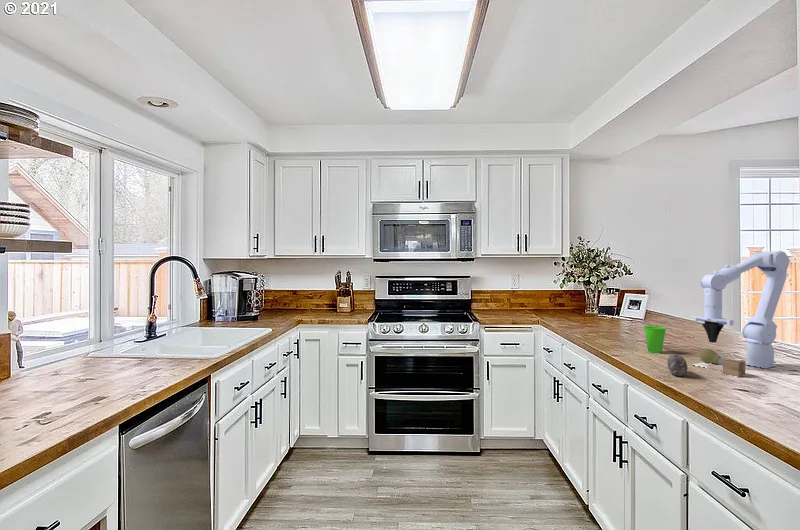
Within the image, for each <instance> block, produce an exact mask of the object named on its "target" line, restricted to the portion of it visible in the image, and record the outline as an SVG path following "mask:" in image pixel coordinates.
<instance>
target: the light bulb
mask: <svg viewBox="0 0 800 530" xmlns="http://www.w3.org/2000/svg"><path fill="white" fill-rule="evenodd" d="M698 355H699V357H698V358H699V359H700V360H701V361H702V362H705V363H714V364H719V365H723V360H727V359H725V358H723V357H722V356H720V355H719V354H718V353H716V352H715V350H714V349H711V348H703V349H701V350H700V352H699V354H698Z"/></svg>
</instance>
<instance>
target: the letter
mask: <svg viewBox="0 0 800 530" xmlns="http://www.w3.org/2000/svg"><path fill="white" fill-rule="evenodd" d="M692 365H695V366H694V367H698V366H700V367H699V368H703V367H705V369H708V368H707V366H708V365H709V363H705V362H703V361H702V362H699V363H694V364H692ZM706 365H707V366H706Z"/></svg>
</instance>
